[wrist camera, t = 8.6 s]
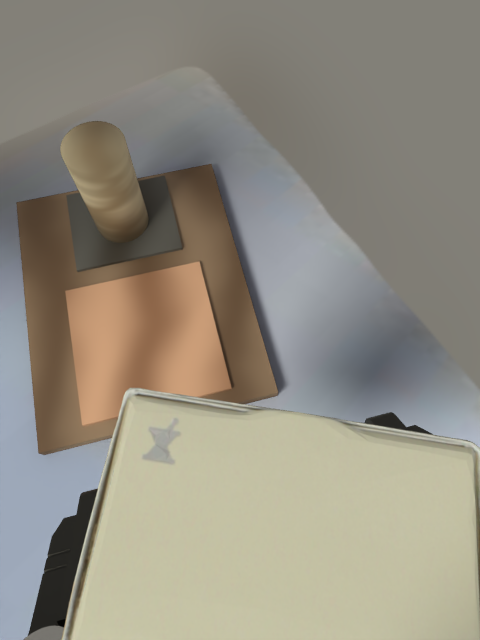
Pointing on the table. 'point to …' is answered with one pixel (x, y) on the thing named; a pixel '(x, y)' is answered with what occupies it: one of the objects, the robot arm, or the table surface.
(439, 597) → the skincare box
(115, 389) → the board
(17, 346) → the table surface
